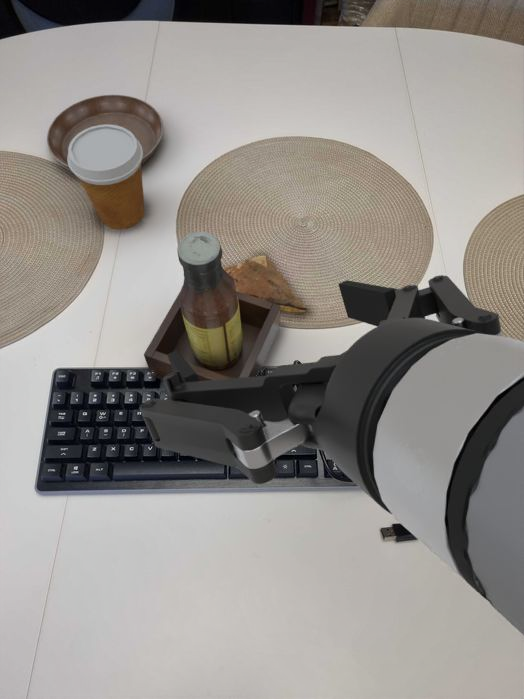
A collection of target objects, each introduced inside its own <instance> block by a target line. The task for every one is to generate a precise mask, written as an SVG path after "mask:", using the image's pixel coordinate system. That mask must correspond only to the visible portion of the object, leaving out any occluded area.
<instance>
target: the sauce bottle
mask: <svg viewBox="0 0 524 699" xmlns="http://www.w3.org/2000/svg"><path fill="white" fill-rule="evenodd" d="M176 250H177V257H178V262H179V263H180V265H181V267H182V269H183V284H182V286H181V289H180V291H181V292H180V291H179V293H180V308H181V311H182V315H183V319H184V323H185V327H186V330H187V334H188V337H189V340H190V344H191V347H192V351H193V353H194V355H195V357H196V359H197V360H198V361H199V362H200V363H201V364H202V365H204V366H205V367H208V368H209V369H212V370H220V369H225V368H229V367H231V366H232V365H234V364H235V363H236V362H237V361H238V359H239V357H240V355H241V353H242V350H243V347H242V346H243V337H242V328H241V320H240V310H239V301H238V296H237V293H236V286H235V283H234V279H233V277H232V276H230V275H229V274H228V273H227V272H226V271H225V268H224V267H223V265H222V258H223V249H222V245H221V241H220V240H219V238H218V237H217V236H215V235H214V234H213V233H211V232H208V231H193V232H192V231H191V232H190V233H187V234H186V235H184V236H183V237H182V238H181V240H180V241H179V242H178V245H177V249H176Z"/></svg>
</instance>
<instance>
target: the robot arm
mask: <svg viewBox="0 0 524 699" xmlns="http://www.w3.org/2000/svg"><path fill="white" fill-rule="evenodd" d="M427 281H428V287H425V288H421V289H419V286H418V285H416V284H408V285H404V286H403V287H402V288H394V287H388V286H387V287H386V286H381V285H376V284H370V283H364V282H358V281H353V280H344V281H342V282H339V283H337V284H338V288H339V291H340V295H341V298H342V302H343V305H344V309H345V313H346V315H347V318H349V319H352V320H355V321H358V322H361V323H365V324H368V325H371V326H375V327H374V328H372V329H371V330H369V331H367V332H366V333H365V334H363V335H362V336H360V337H359V338H358V339H357V340H356V341H355V342H353V344H351V346H349V348H348V349H347V350H345V351H343V352H342V353H340V354H335V355H325V356H322V357H320V358H319V359H317V361H311V362H302V363H292V364H291V363H290V364H282V365H281V364H280V365H278V366H276V367H275V368H274V369H273V370H272V371H271V373H269V374H268V375H258V376H257V377H245V378H232V379H220V380H208V381H199V379H198V376H197V374H196V372H195V371H194V370H193V369H192V367H191V366H190V365H189V364H188V363H187V361H186V360H185V359H184V358H183V357H182V356H181V354H180V353H179V352H178V351H174V352H172V353H169V354H167V356H168V358H169V361H170V363H171V366H172V368H173V371H174V372H173V373H171V374H168V375H167V376H165V377H164V378H163V380H162V381H163V383H162V387H163V388H164V391H165V393H166V395H167V398H166V399H164V398H151V399H148V400H145V402H142V403H141V404H140V405H139V407H138V409H139V412H140V413H141V416H142V418H143V421H144V423H145V426H146V428H147V430H148V433H149V434H150V437H151V439H152V442H153V444H154V445H155V447H156V448H159V449H161V450H166V451H168V452H169V451H170V452H173V453H178V454H182V455H186V456H188V457H193V458H197V459H201V460H204V461H209V462H213V463H216V464H219V465H224V466H228V467H232V468H236V469H237V470H239V471H240V472H241V473H242V474H243V475H244V476H246V477H247V478H248V479H249V480H250V481H251V482H252V483H254V484H256V485H261V484H267V483H268V482H270V481H272V480H274V479H275V478H276V477H277V475H278V472H279V471H278V468H277V465H276V462H275V460H276V458H278V457H280V456H282V455H283V454H285V453H288V452H289V451H291V450H293V449H295V448H297V447H298V446H300V445H301V446H302V447H304V448H308V449H314V450H319V451H323V452H324V453H325V454H326V455H327V456H328V457H329V458H330V460H331V461H332V462H333V463H334V464H335V465H336V467H337V468H338V469H339V470H340V471H341V472H342V473H343V474H344V475H345V476H346V477H347V478H349V480H351V481H352V482H353V483H354V484H355V485H356V486H357V487H358V488H360V489H361V490H362V491H363V492H364V493H365V494H366V495H367V496H368V497H369V498H371V499H372V500H373V502H375V503H376V504H378V506H379V507H380V508H382V509H383V510H384V511H386V512H387V513H388V514H391V515H392V516H393V517H394V518H395V520H396V521H397V522H398V523H399V524H400V525H401V526H403V528H405V529H406V530H407V531H408V532H409V533H411V535H413V536H414V538H416V539H417V540H418V541H420V543H422V544H423V545H424V547H426V548H427V549H428V550H429V551H430V552H432V553H433V554H434V555H435V556H436V557H437V558H439V559H440V560H441V561H442V562H443V563H444V564H445V565H446V566H447V567H448V568H450V570H452V571H453V572H454V573H455V574H456V575H457V576H459V578H461V579H462V581H464V582H465V583H466V584H468V585H469V586H470V587H471V588H472V589H473V590H474V591H475V592H477V593H478V594H479V595H480V596H482V597H483V599H485V600H486V601H488V602H489V604H490V605H491V607H492V608H493V609H495V611H497V612H498V613H499V614H500V615H501V616H502V617H503V618H504V619H505V620H506V621H508V622H509V623H510V624H511V625H512V626H513V627H514V628H515V629H516V630H517V631H518V632H519V633H521V634H522V635H523V636H524V341H523V340H519V339H516V338H512V337H508V336H503V330H502V327H501V322H500V316H499V313H496V312H494V311H490V310H487V309H483V308H480V307H476V306H475V305H474V304H473V303H472V301H470V299H469V298H468V297H467V296H466V295H465V294H464V293H463V291H462V290H461V289H460V288H459V286H457V285H456V284H455V283H454V281H452V279H451V278H450V277H449V276H448V275H444V274H441V275H436V276H434V277H431V278H430V279H428V280H427ZM431 315H435V317H436V319H437V320H438V321H437V320H434V319H430V318H429V319H428V318H426V317H429V316H431ZM293 385H298V386H297V388H296V390H295V388H294V387H293Z"/></svg>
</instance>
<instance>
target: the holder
mask: <svg viewBox="0 0 524 699" xmlns="http://www.w3.org/2000/svg"><path fill="white" fill-rule="evenodd" d="M180 292H181V290H180V291H179V293H178V294H177V295H176V298H175V300H173V303H172V305H171V307H170V308H169V310H168V312H167V314H166V315H165V317H164V318H163V320H162V322H161V324H160V326H159V327H158V329H157V331H156V332H155V334H154V335H153V338H152V339H151V341H150V343H149V345H148V346H147V348H146V350H145V351H144V353H143V358H144V360H145V362H146V365H147V368H148V370H149V372H150V376H152V377H154V378H157V379H159V380H161V381H163V378H164V377H165V376H167V375H168V374H171V373H173V372H174V371H173V368H172V366H171V363H170V361H169V358H168V356H167V354H169V353H172V352H174V351H178V352H179V353H180V354H181V356H182V357H183V358H184V359H185V360H186V361H187V363H188V364H189V365H190V366H191V367H192V369H193V370H194V371H195V372H196V374H197V376H198V379H199V381H208V380H220V379H232V378H245V377H257V376H260V373H261V371H262V368H263V367H264V365H265V362H266V359H267V357H268V355H269V354H270V351H271V348H272V347H273V344H274V343H275V339H276V337H277V335H278V333H279V330H280V325H281V311H282V310H281V306H280V305H277V304H273V303H271V302H268V301H265V300H262V299H259V298H256V297H253V296H250V295H247V294H244V293H241V292H238V291H236V293H237V296H238V301H239V310H240V320H241V328H242V337H243V346H242V347H243V350H242V353H241V355H240V357H239V359H238V361H237V362H236V363H235V364H234V365H232V366H231V367H229V368H225V369H220V370H212V369H209V368H208V367H205V366H204V365H202V364H201V363H200V362H199V361H198V360H197V359H196V357H195V355H194V353H193V351H192V347H191V344H190V340H189V337H188V334H187V330H186V327H185V323H184V319H183V315H182V311H181V308H180ZM258 371H259V372H258ZM152 372H154V373H152ZM155 373H156V374H155ZM257 373H258V374H257ZM256 375H257V376H256Z"/></svg>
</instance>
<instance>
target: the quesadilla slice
mask: <svg viewBox="0 0 524 699" xmlns="http://www.w3.org/2000/svg"><path fill="white" fill-rule="evenodd" d="M224 270H225V271H226V272H227V273H228V274H229V275H230V276H232V277H233V279H234V283H235V286H236V291H238V292H241V293H244V294H247V295H250V296H253V297H256V298H259V299H262V300H265V301H268V302H271V303H273V304H277V305H280V306H281V311H282V312H287V313H297V314H298V313H299V314H300V313H301V314H302V313H305V312H308V309H307V308H306V306H305V305H304V304H303V302H302V301H301V300H300V299H299V298H298V297H297V295H296V294H295V293H294V291H293V289H292V288H291V286H290V285H289V282H288V281H287V280H286V279H285V278H284V276H283V274H282V273H281V272H280V271H279V270H278V268H277V267H276V265H274V263H272V262H271V261H270V259H269V258H268V257H267V256H266V255H264V254H263V255H257V256H253V257H251V258H248V259H245V260H243V261H241V262H239V263H236V264H235V265H232V266H229V267H226V268H224Z"/></svg>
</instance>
